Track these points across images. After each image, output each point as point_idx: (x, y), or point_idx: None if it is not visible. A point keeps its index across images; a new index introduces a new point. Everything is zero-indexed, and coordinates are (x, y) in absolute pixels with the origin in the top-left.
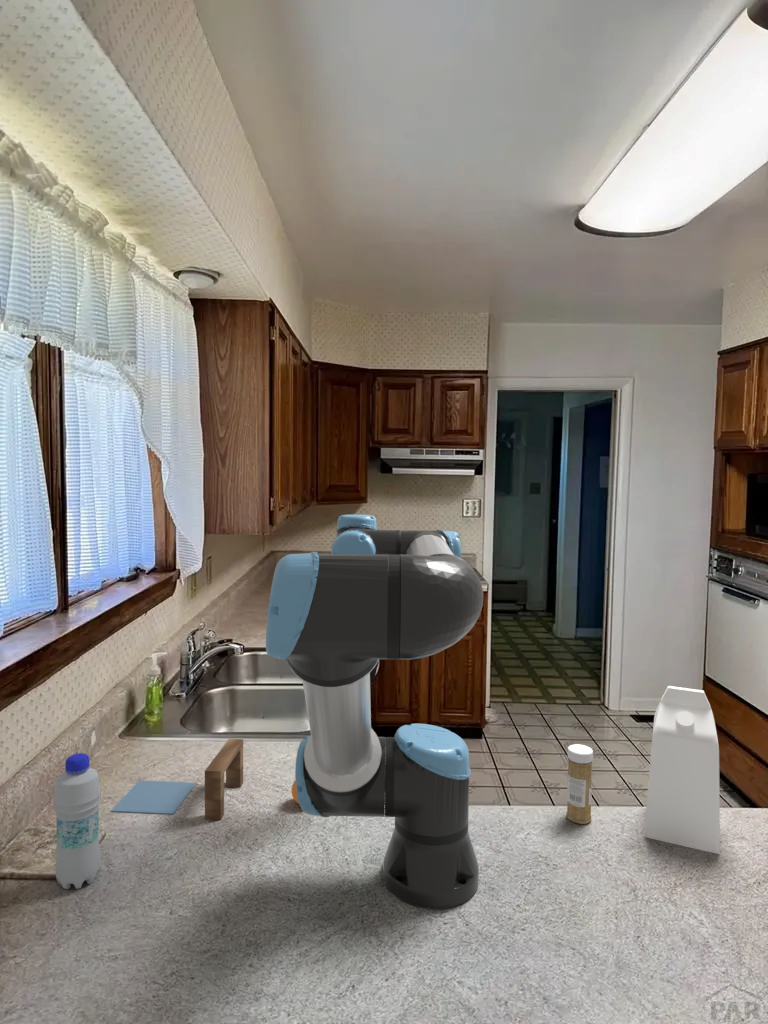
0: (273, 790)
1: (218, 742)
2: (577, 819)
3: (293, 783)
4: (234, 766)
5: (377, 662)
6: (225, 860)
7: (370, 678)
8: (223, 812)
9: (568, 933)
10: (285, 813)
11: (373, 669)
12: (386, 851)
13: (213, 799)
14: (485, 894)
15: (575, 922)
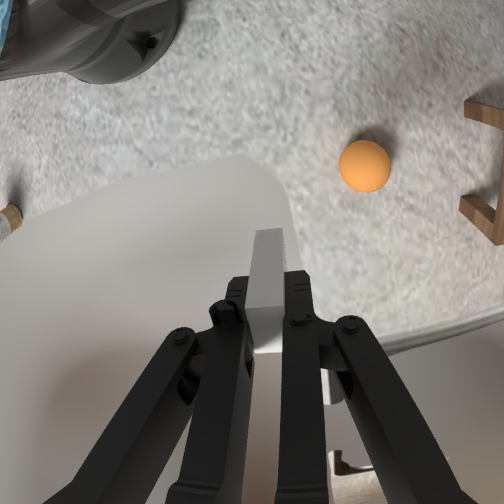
0: (416, 194)
1: (486, 306)
2: (9, 206)
3: (390, 165)
4: (484, 210)
5: (124, 407)
6: (419, 3)
7: (179, 339)
8: (467, 114)
9: None
10: (383, 125)
11: (156, 378)
12: (166, 4)
13: (490, 106)
14: None
15: None
